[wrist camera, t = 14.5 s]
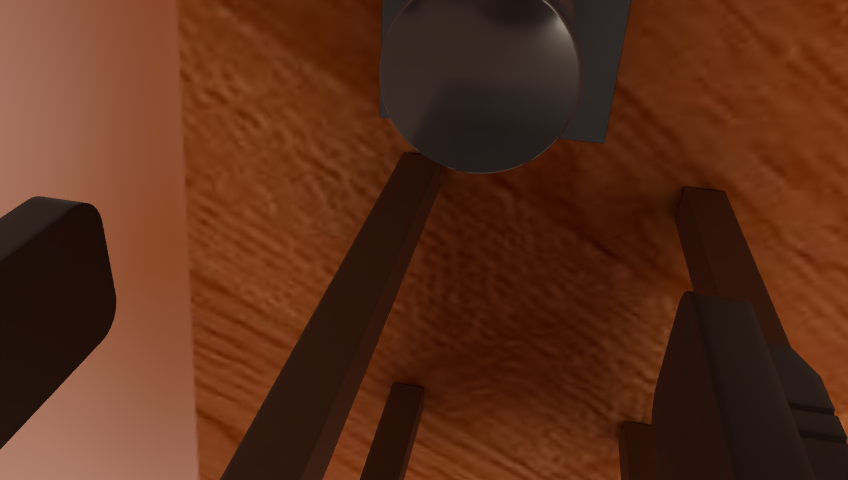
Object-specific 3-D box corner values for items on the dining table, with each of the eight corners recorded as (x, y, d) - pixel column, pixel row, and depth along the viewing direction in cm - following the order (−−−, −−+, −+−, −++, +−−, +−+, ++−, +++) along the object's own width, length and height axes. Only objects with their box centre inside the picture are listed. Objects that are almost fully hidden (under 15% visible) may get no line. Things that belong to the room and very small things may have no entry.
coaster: (388, -132, 26) (386, -131, 25) (651, -113, 24) (652, -112, 24) (381, 114, 30) (379, 117, 30) (603, 140, 29) (604, 144, 28)
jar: (432, -68, 26) (380, -37, 19) (592, -56, 25) (598, -18, 18) (424, 86, 29) (375, 162, 22) (568, 101, 28) (565, 186, 21)
